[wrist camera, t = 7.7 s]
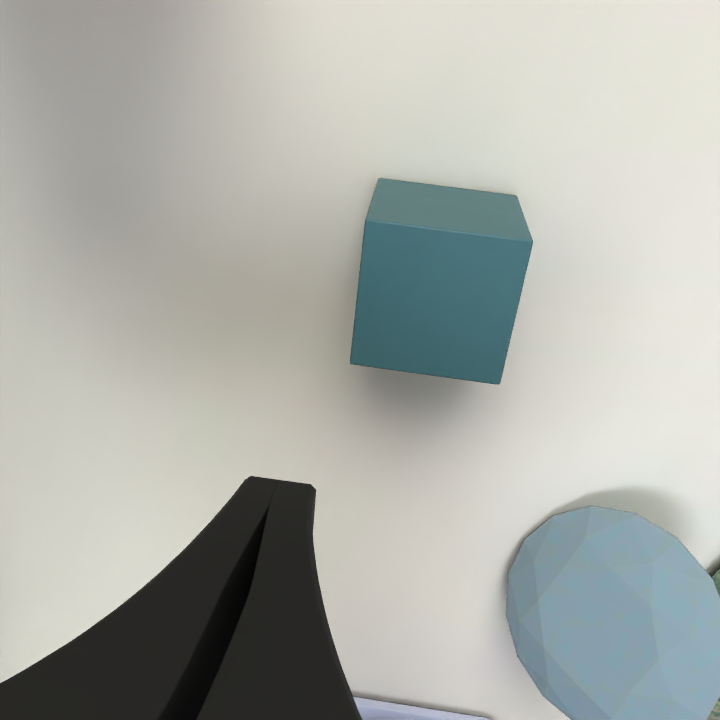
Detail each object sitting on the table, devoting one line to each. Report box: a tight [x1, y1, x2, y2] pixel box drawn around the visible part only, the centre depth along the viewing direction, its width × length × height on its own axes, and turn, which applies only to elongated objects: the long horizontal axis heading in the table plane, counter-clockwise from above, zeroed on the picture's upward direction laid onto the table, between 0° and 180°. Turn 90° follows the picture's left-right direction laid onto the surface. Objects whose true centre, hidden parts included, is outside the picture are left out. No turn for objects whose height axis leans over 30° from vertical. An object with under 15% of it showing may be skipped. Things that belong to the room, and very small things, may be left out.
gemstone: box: [506, 506, 720, 720], centre depth 24 cm, size 8×8×5 cm
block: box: [350, 178, 533, 384], centre depth 19 cm, size 4×4×4 cm
